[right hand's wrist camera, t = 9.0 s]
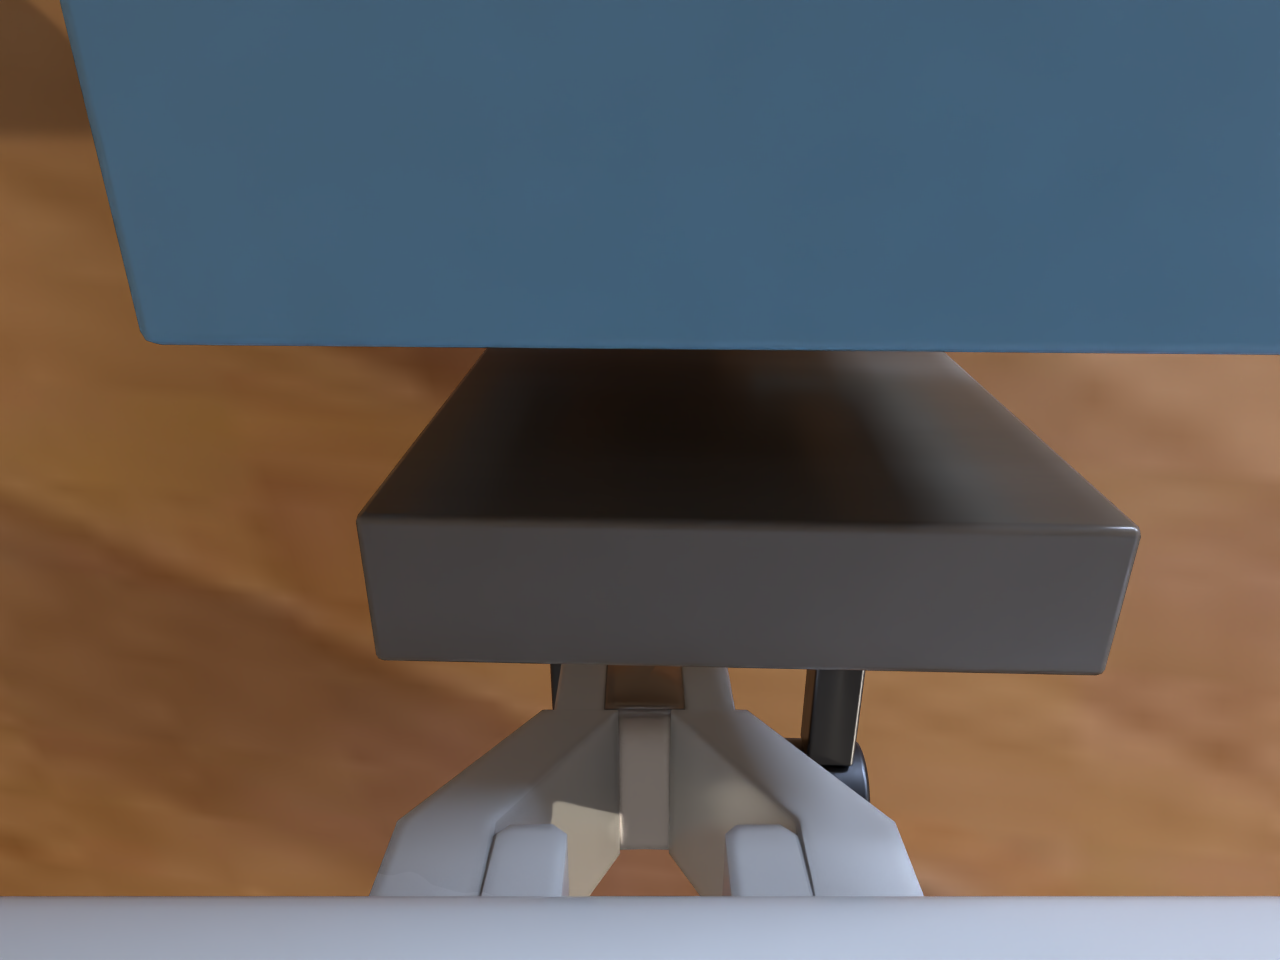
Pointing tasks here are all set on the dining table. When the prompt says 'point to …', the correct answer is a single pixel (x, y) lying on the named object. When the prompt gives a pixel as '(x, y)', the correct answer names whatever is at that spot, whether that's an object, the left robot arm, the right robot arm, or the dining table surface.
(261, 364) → the dining table surface
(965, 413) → the drawer
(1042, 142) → the light blue box block
